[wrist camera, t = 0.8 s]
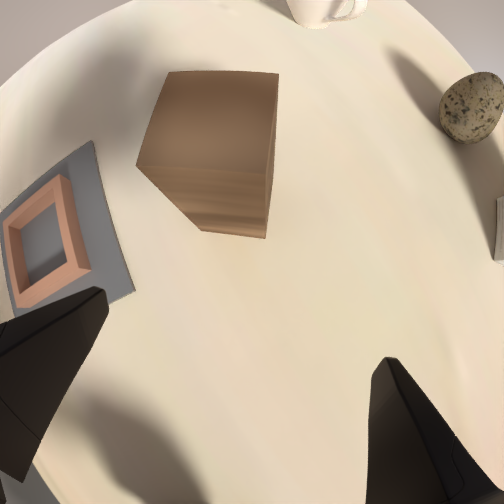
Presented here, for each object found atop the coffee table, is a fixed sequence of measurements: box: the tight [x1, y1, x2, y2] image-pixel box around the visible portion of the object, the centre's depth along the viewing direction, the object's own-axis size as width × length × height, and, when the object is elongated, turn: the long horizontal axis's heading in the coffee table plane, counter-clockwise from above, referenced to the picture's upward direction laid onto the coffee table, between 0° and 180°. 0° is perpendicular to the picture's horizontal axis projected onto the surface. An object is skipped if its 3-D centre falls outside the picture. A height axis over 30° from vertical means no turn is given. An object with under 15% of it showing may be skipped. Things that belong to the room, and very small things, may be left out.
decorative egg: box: [439, 72, 504, 144], centre depth 17 cm, size 6×6×10 cm
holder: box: [0, 141, 136, 318], centre depth 21 cm, size 16×16×2 cm
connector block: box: [136, 71, 279, 239], centre depth 16 cm, size 5×5×12 cm
